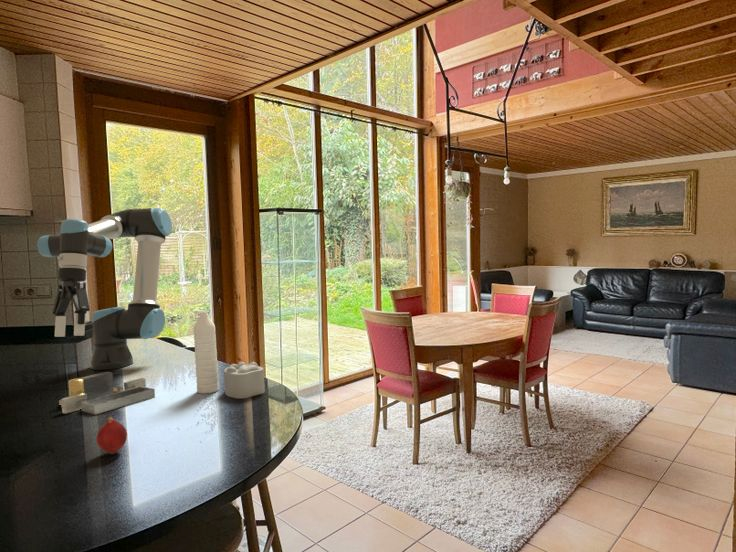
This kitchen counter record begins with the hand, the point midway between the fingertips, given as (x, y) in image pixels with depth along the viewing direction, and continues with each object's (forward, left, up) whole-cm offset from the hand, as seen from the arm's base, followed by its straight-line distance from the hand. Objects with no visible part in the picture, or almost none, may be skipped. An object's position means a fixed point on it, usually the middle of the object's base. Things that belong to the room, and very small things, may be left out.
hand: (69, 336), depth 150 cm
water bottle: (-24, +34, -19) cm, 46 cm away
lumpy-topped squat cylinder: (-28, +46, -19) cm, 57 cm away
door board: (-2, +15, -19) cm, 24 cm away
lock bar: (-1, +9, -19) cm, 21 cm away
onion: (+18, +56, -19) cm, 62 cm away
